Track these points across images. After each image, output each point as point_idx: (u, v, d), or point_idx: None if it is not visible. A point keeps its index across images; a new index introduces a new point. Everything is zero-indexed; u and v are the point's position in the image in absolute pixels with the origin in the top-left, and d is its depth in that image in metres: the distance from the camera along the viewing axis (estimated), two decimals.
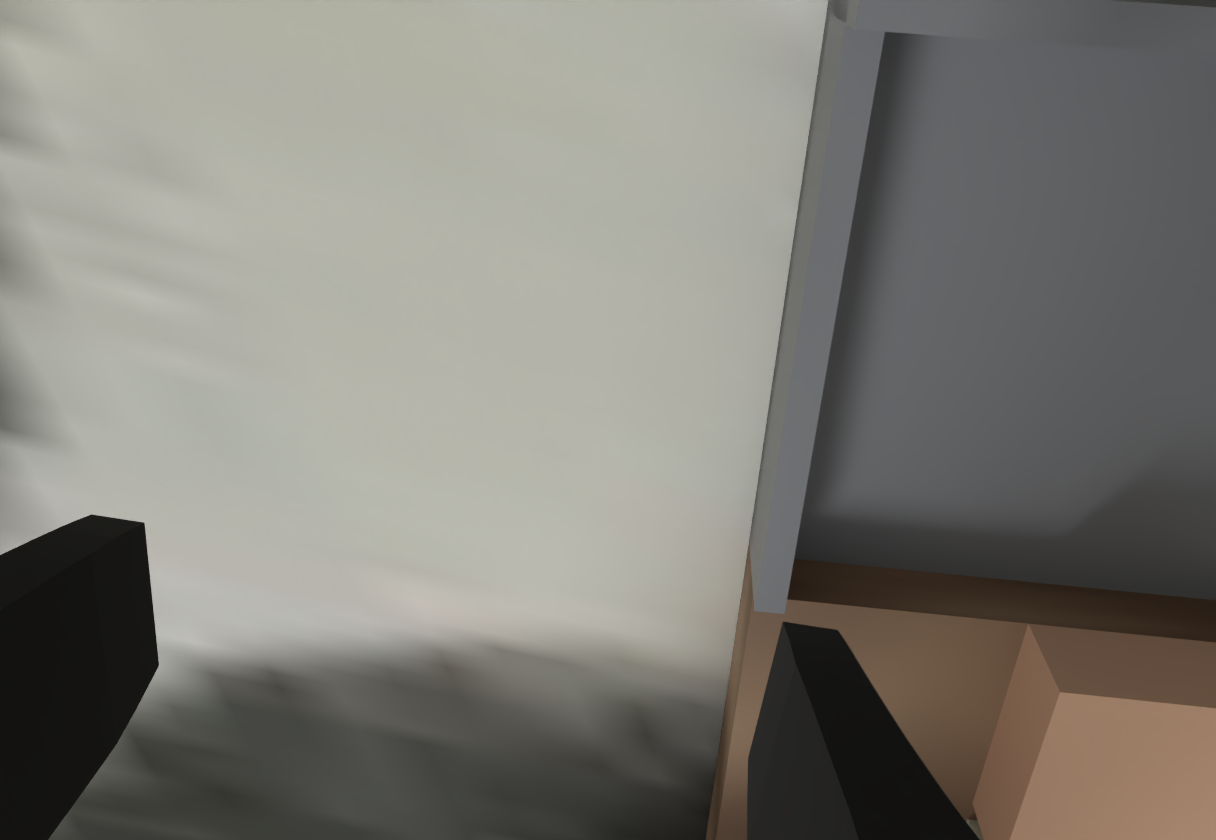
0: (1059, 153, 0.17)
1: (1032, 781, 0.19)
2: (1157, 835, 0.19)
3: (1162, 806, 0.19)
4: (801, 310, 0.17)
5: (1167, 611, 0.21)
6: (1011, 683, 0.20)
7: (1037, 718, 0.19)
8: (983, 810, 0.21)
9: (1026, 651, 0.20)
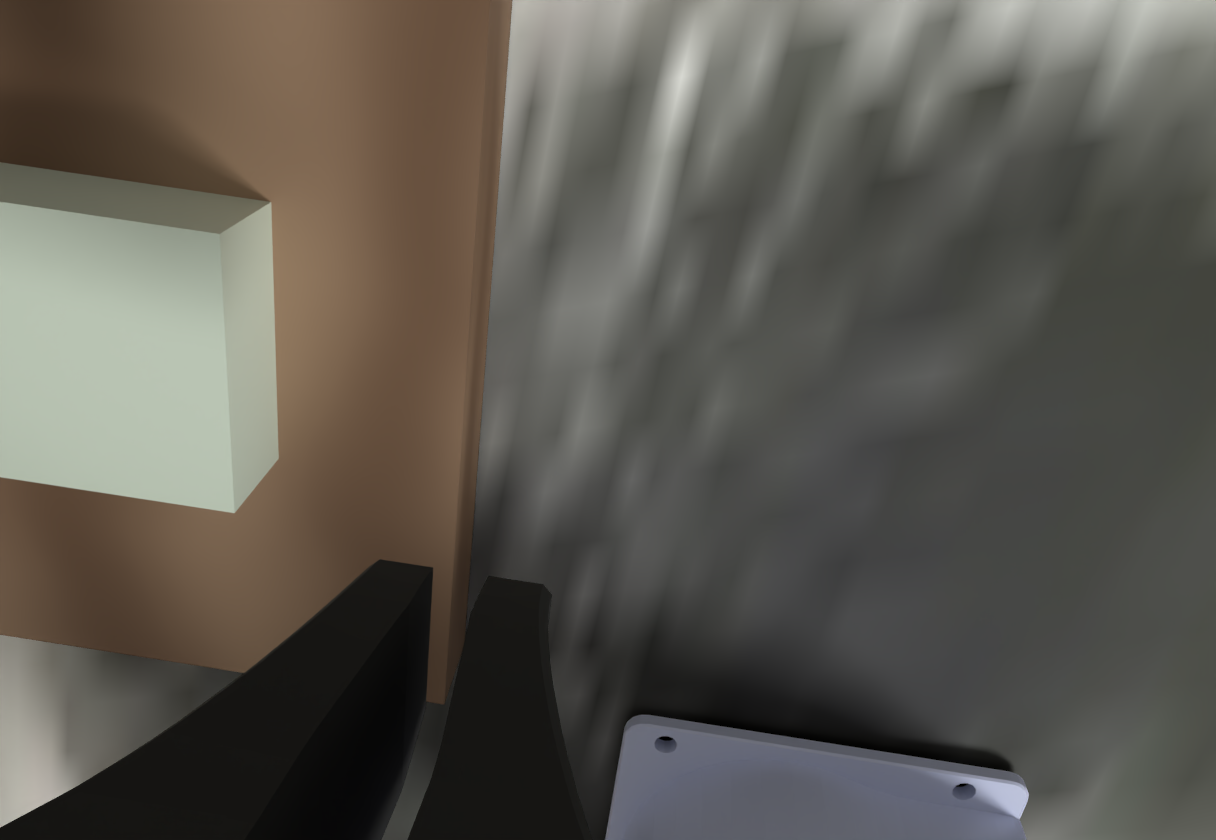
0: None
1: None
2: None
3: None
4: None
5: None
6: None
7: None
8: None
9: None
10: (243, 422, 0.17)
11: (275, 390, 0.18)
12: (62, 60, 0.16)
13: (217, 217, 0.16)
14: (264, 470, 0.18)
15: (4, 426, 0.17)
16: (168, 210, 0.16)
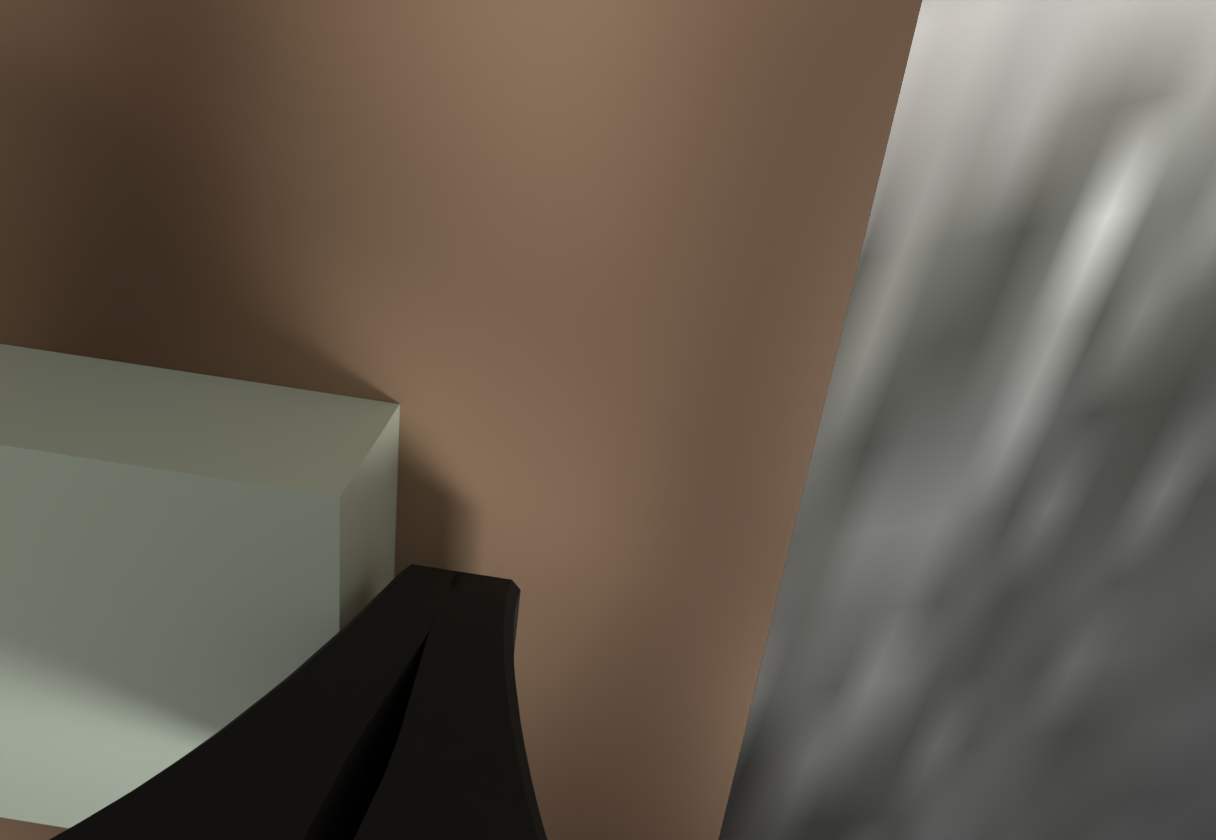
0: None
1: None
2: None
3: None
4: None
5: None
6: None
7: None
8: None
9: None
10: None
11: None
12: (173, 209, 0.10)
13: (327, 452, 0.10)
14: None
15: None
16: (248, 440, 0.10)
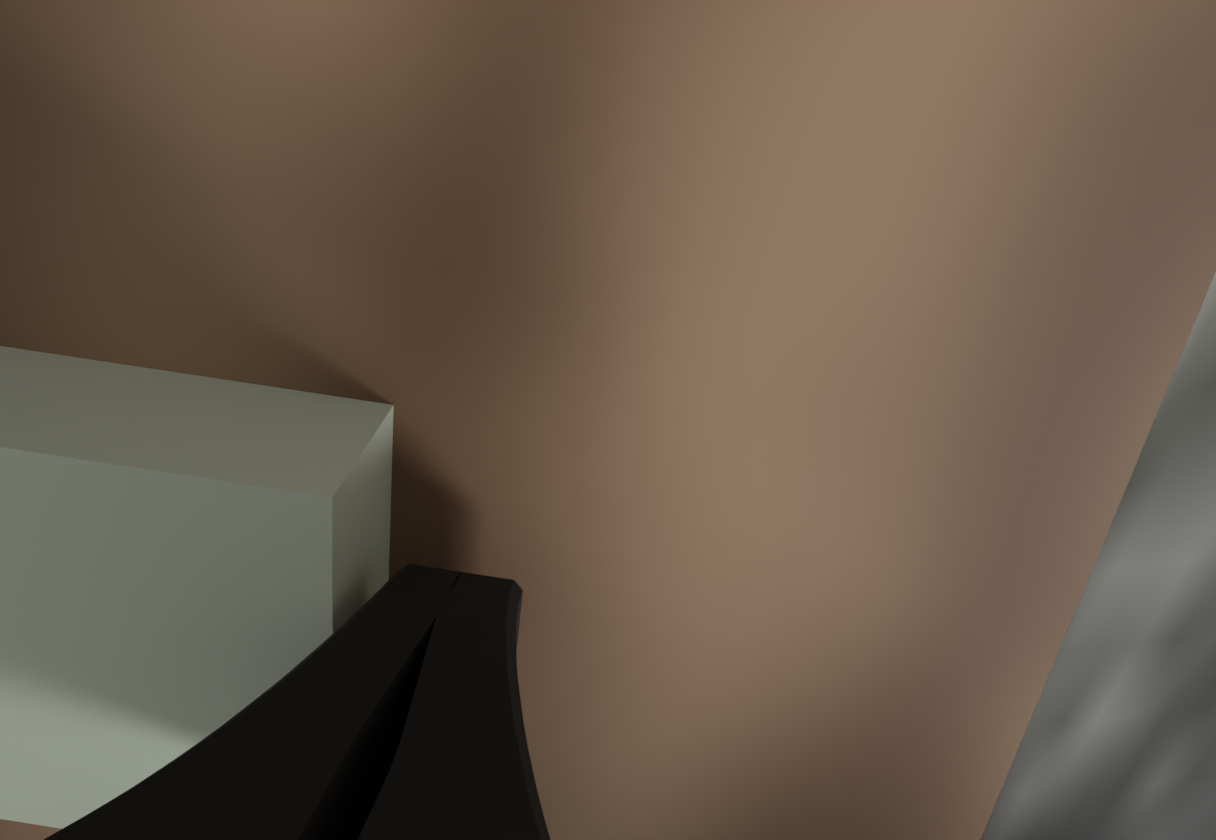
0: None
1: None
2: None
3: None
4: None
5: None
6: None
7: None
8: None
9: None
10: None
11: None
12: (495, 254, 0.10)
13: (320, 452, 0.10)
14: None
15: None
16: (241, 441, 0.10)
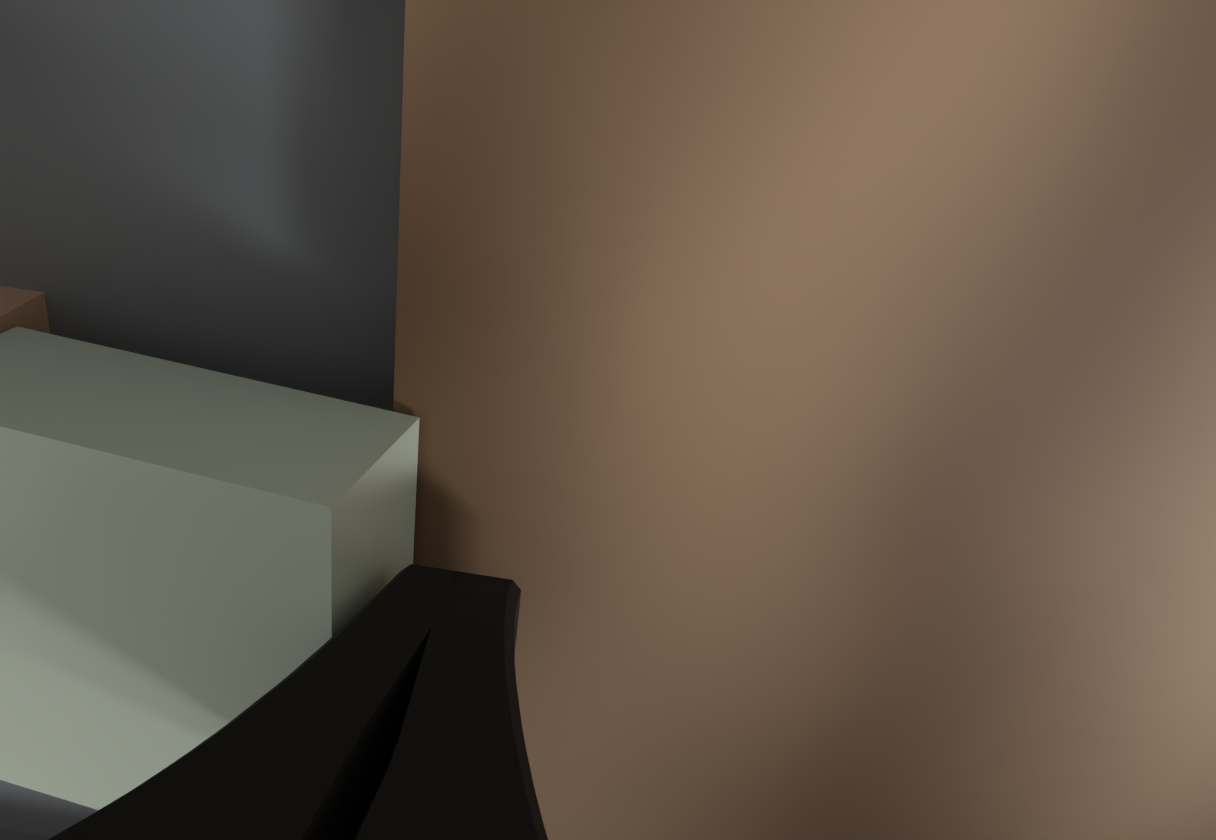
0: None
1: None
2: None
3: None
4: None
5: None
6: None
7: None
8: None
9: None
10: None
11: None
12: (1105, 342, 0.10)
13: (332, 461, 0.10)
14: None
15: (14, 721, 0.11)
16: (258, 444, 0.10)
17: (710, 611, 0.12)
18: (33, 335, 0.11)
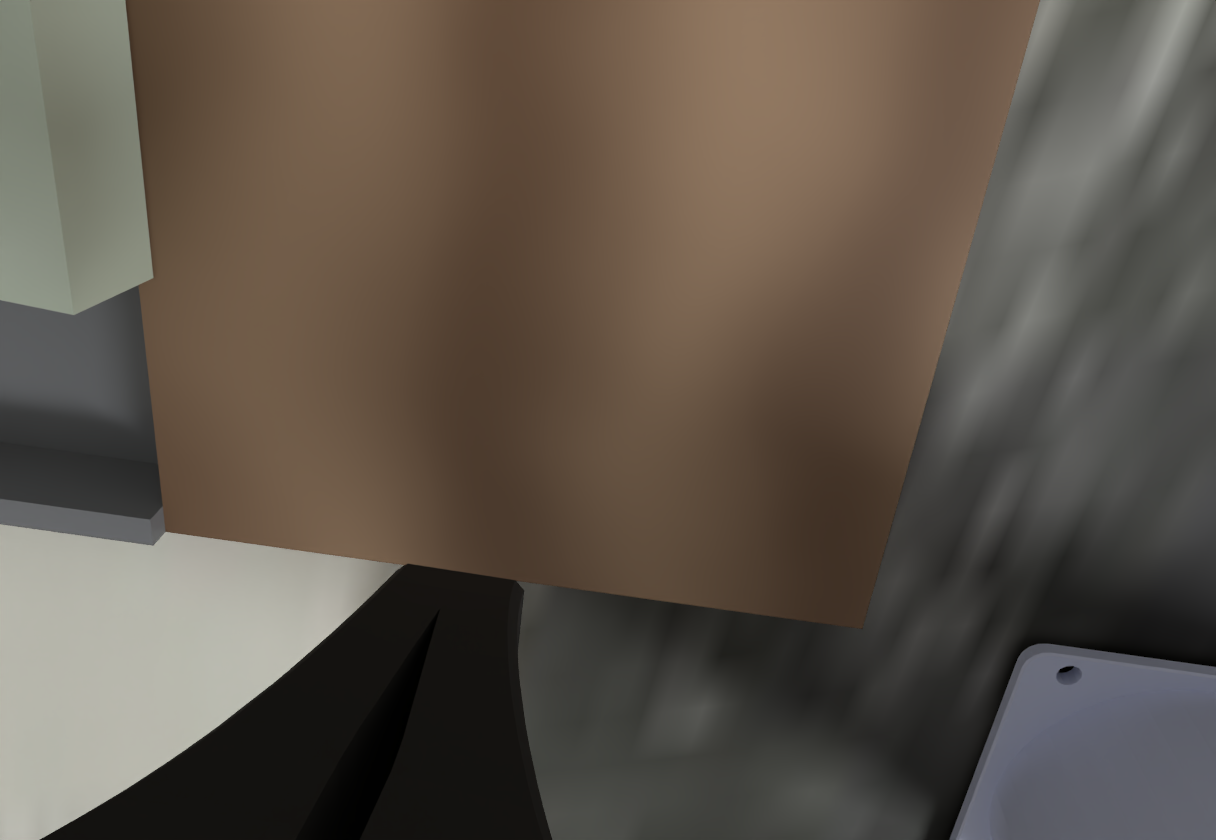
0: None
1: None
2: None
3: None
4: None
5: None
6: None
7: None
8: None
9: None
10: (84, 213, 0.15)
11: (142, 194, 0.17)
12: None
13: None
14: (127, 282, 0.17)
15: None
16: None
17: (351, 130, 0.16)
18: None
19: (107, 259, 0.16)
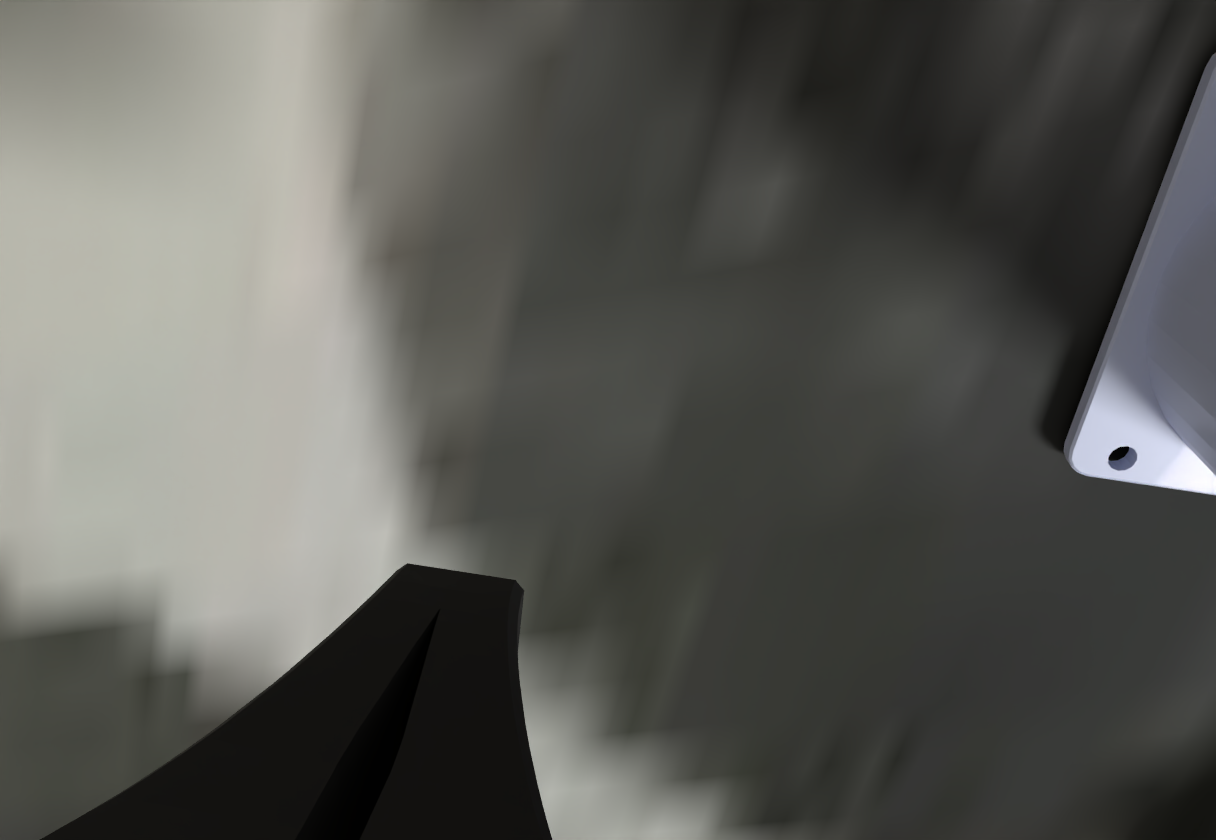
0: None
1: None
2: None
3: None
4: None
5: None
6: None
7: None
8: None
9: None
10: None
11: None
12: None
13: None
14: None
15: None
16: None
17: None
18: None
19: None
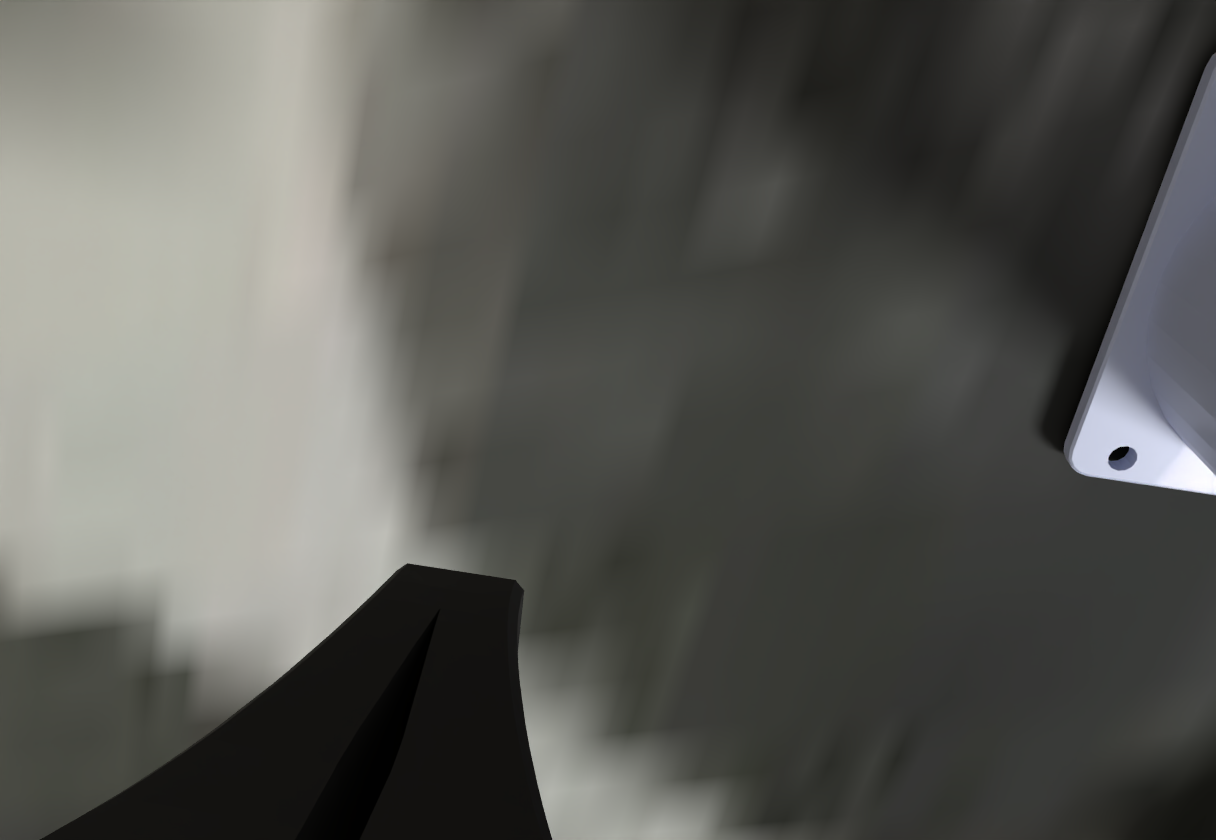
0: None
1: None
2: None
3: None
4: None
5: None
6: None
7: None
8: None
9: None
10: None
11: None
12: None
13: None
14: None
15: None
16: None
17: None
18: None
19: None
